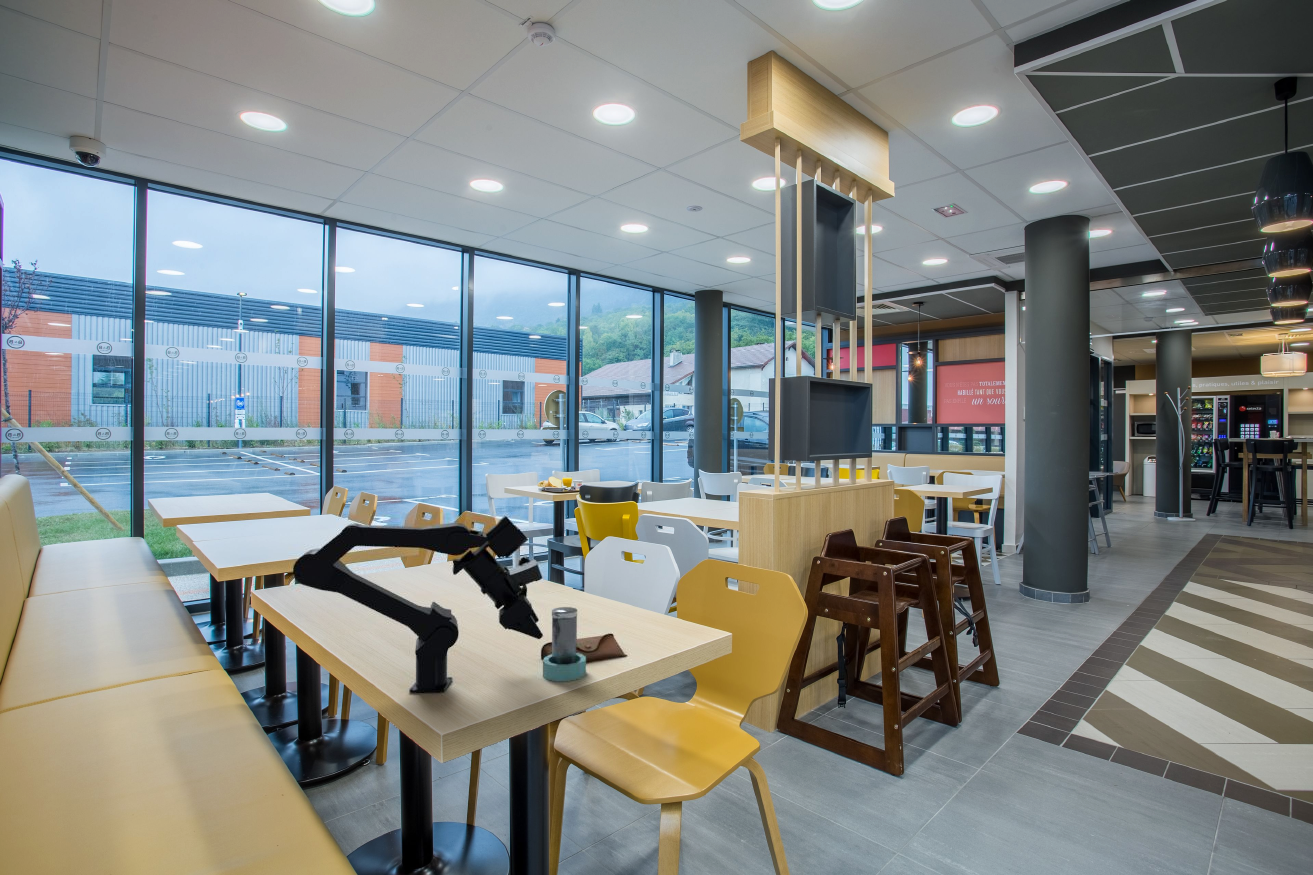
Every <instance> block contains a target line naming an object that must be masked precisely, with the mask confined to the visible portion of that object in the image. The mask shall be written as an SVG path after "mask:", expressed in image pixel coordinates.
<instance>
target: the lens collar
mask: <svg viewBox="0 0 1313 875" xmlns="http://www.w3.org/2000/svg"><path fill="white" fill-rule="evenodd" d="M586 672H587V663H586V657H585V656H583V655H582V654H578V653H577V662H576V663H572V664H553V663H552V654H551V655H549V656H547V657H544V660H542V677H543V678H544V679H546V680H548V681H552V682H556V681H557V682H571V680H572V681H575V680H576V679H577V680H580V679H582V678H583V677H585V676H586ZM584 675H585V676H584ZM579 678H580V679H579Z"/></svg>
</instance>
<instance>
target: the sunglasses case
mask: <svg viewBox="0 0 1313 875" xmlns="http://www.w3.org/2000/svg"><path fill="white" fill-rule="evenodd" d="M577 653H578V654H582V655H583V656H585V657H586V664H587V663H592V662H593V661H594V662H599V661H604V660H605V659H606V660H610V659H616V658H617V657H618V658H625V657H628V654H625V653H624V651H623V649H622V648H621V646H620V645H619V643H618V642H617V640H616V638H615V635H614V634H613V633H605V634H603V635H597V636H587V637H581V638H577ZM551 654H552V641H550V642H547V643H544V645H542V646H541V649H540V659H541V660H542V661H543V660H544V657H547V656H549V655H551ZM618 658H617V659H618Z"/></svg>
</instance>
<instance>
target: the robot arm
mask: <svg viewBox="0 0 1313 875" xmlns="http://www.w3.org/2000/svg"><path fill="white" fill-rule="evenodd" d="M528 541H529V538H527V536H526V535H525V533H523V531H521V529H520V528H519V527H518V526H517V525H515V524H514V523H513V522H512V520H510V518H508V516H507V515H504V516H502V517H501V518H500V520H498V522H497V523H496V524H495V525H494V526H492V527H491V528H490V529H489V530H488V531H486V532H484V531H481V530H480V531H478V530H473V529H469V527H468V526H466V525H465V524H464V523H462V522H451V523H450V522H448V523H443V524H442V523H441V524H435V525H430V526H422V527H420V526H401V525H400V526H398V525H397V526H396V525H373V524H372V525H371V524H359V523H350V524H348V525H346V526H344V528H343V529H342V530H341V531H340V533H338V534H337V535H336V536H334V537H333V538H332V539H331V540H330V541H328V542H327V543H326V544H324V545H323V546H322V547H320V548H314V549H310V550H308V551H307V552H305V553H304V554H303V555H301V556H300V557H299V558H298V559H297V560H295V562H294V564H293V567H292V573H293V578H294V579H295V581H296V582H297V583H298V584H300V585H302V586H305V587H310V588H311V589H312V588H313V589H316V590H320V591H323V592H332V593H336V594H340V595H343V596H345V597H347V598H348V599H350V600H352V601H354V602H356V603H359V604H361V605H362V606H365V607H366V608H369V609H371V610H373V611H375V612H377V613H379V614H381V615H383V616H385V617H387V618H389V619H391V620H393V621H395V622H397V623H399V624H401V625H404V626H405V627H407V628H409V629H410V630H411V631H412V632H413V633H414V635H416V636H417V638H416V640H415V641H416V642H415V650H414V651H415V652H414V653H415V682H414V683H413V685H411V687H409V689H408V690H409V691H408V692H409V693H439V692H440V693H443V692H445V691H446V690H447V688H448V686H449V685H450V684H451V683H452V682H453V677H452V676H451V677H450V676H449V677H448V652H449V649H450V648H452V647H453V646H454V645H455V644H456V643H457V641H458V639H459V634H460V633H459V623H458V620H457V617H455V615H454V614H453V613H452V609H450V608H444V607H443V606H442V605H440V604H438V603H437V602H436V601H432V602H431V604H430V607H428V606H422V605H421V606H420V605H418V604H416V603H414V602H412V601H410V600H408V599H406V598H404V597H402V596H400V595H398V594H396V593H394V592H392V591H390V590H388V589H387V588H384V587H383V586H380V585H378V584H377V583H374V582H373V581H370V580H368V579H366V578H365V577H362V576H361V575H358V574H356V573H355V572H354V571H352V570H351V569H349V567H348V566H347V565H346V564H344V562H342V560H341V558H343V557H344V556H345V555H346V554H347V553H349V552H350V551H351V550H352V549H353V548H355V547H375V548H376V547H377V548H378V547H380V548H381V547H382V548H383V547H384V548H409V549H410V548H411V549H424V550H429V551H432V552H435V553H440V554H445V555H449V556H454V557H455V556H456V557H457V556H461V555H462V556H461V557H460V558H452V574H453V576H456V575H458V574H459V573H460V572H461V571H462V570H463V571H464V572H466V573H467V575H468V576H469V577H470V578H471V579H472V581H473V582H475V583H476V585H477V586H478V587H479V588H480V592H481V593H482V594H483V596H485V595H487V597H489V599H490V600H491V601H492V602H493V603H494V607H495V608H496V609H497V610H498V623H499V624H500V625H501V626H502V627H503V628H504V629H505V630H511V631H515V632H518V633H521V634H523V635H526V636H528V637H531V638H535V639H536V640H540V639H541V638H543V637H544V635H543V632H542V631H541V628H539V626H538V624H537V623H538V622H539V617H538V615H537V614H536V612H535V610H534V608H533V605H532V603H531V602H530V600H529V599H528V598H527V596H528V594H527V593H528V587H527V585H528V584H531V583H533V582H538V581H540V580H542V579H543V575H542V572H541V570H540V567H539V564H538V561H537V559H533V558H532V559H530V558H529V557H528V556H526V555H524V556H521V557H519V558H518V565H514V567H513V568H511V569H509V568H508V566H506V565H505V566H504V565H502V564H500V563H499V562H498V561H497V559H496V558H495V557H494V556H493V555H492V554H491V552H490V551H488V549H487V548H489V549H490V550H491V551H492V553H493V554H495V556H496V557H497V558H498V559H501V558H502V559H503V558H504V557H505V558H506V559H509V557H511V556H512V555H513V554H514V553H515V552H516V551H518V550H519V549H520V548H521V547H522V546H524V545H525V543H527V542H528ZM475 548H477V549H475ZM472 549H475V550H474V551H473V550H472Z"/></svg>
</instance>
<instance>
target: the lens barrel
mask: <svg viewBox="0 0 1313 875" xmlns="http://www.w3.org/2000/svg"><path fill="white" fill-rule="evenodd" d="M551 619H552V620H551V621H552V622H551V624H552V625H551V626H552V627H551V636H552V637H551V642H552V663H553V664H572V663H576V662H577V639H578V634H577V632H578V628H577V627H578V622H577V621H578V609H577V608H576V607H571V606H561V607H555V608H553V609H552V610H551Z"/></svg>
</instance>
